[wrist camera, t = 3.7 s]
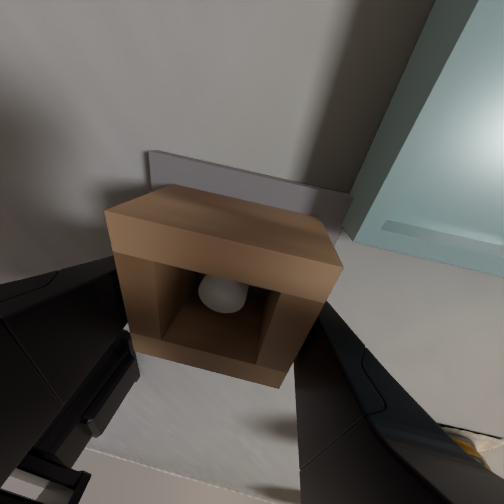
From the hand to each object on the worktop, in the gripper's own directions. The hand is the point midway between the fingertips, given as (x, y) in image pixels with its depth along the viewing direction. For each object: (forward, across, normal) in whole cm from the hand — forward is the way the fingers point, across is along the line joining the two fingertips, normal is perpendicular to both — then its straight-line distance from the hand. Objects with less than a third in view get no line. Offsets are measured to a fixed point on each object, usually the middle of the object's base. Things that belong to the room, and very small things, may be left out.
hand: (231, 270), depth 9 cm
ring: (+1, 0, 0) cm, 1 cm away
